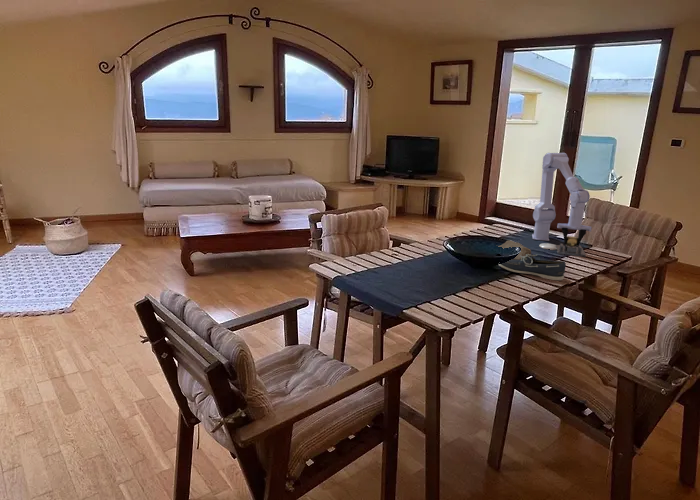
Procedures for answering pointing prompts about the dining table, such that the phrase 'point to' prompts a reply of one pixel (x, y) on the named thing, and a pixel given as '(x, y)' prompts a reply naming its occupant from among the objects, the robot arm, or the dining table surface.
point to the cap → (571, 241)
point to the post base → (570, 250)
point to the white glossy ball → (548, 246)
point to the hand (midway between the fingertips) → (571, 244)
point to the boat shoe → (536, 267)
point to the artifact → (513, 244)
